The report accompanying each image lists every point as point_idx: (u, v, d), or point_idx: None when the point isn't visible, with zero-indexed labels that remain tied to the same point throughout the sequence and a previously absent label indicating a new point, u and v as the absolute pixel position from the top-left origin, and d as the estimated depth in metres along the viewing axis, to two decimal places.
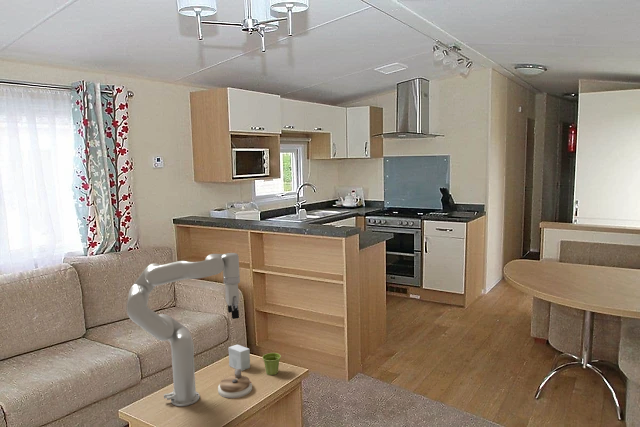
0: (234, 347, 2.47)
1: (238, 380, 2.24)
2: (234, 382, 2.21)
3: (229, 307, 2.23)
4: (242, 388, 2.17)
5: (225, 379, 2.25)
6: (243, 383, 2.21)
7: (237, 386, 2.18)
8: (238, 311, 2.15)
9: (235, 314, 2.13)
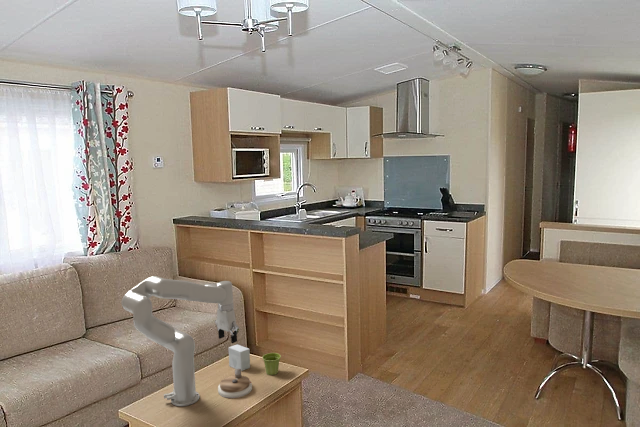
0: (234, 347, 2.47)
1: (238, 380, 2.24)
2: (234, 382, 2.21)
3: (220, 333, 2.32)
4: (242, 388, 2.17)
5: (225, 379, 2.25)
6: (243, 383, 2.21)
7: (237, 386, 2.18)
8: (236, 335, 2.28)
9: (235, 338, 2.26)
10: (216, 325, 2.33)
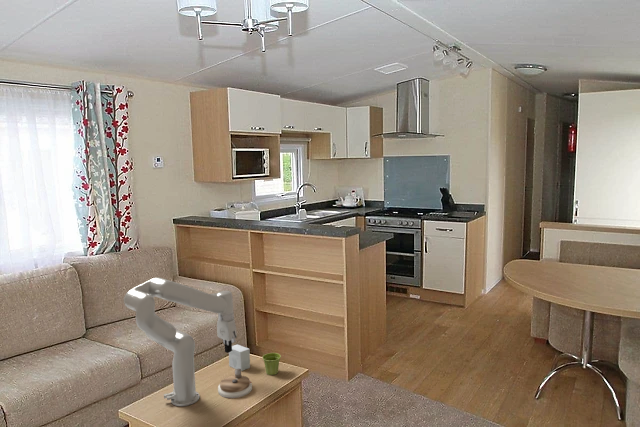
0: (234, 347, 2.47)
1: (238, 380, 2.24)
2: (234, 382, 2.21)
3: None
4: (242, 388, 2.17)
5: (225, 379, 2.25)
6: (243, 383, 2.21)
7: (237, 386, 2.18)
8: (231, 344, 2.32)
9: (230, 348, 2.30)
10: (222, 339, 2.32)
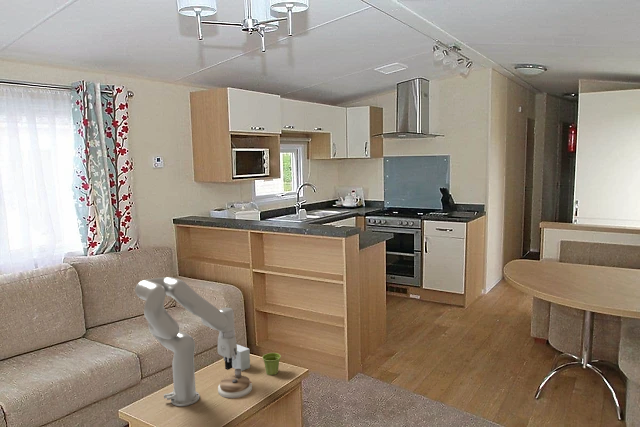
0: None
1: (238, 380, 2.24)
2: (234, 382, 2.21)
3: None
4: (242, 388, 2.17)
5: (225, 379, 2.25)
6: (243, 383, 2.21)
7: (237, 386, 2.18)
8: (231, 361, 2.32)
9: (230, 365, 2.31)
10: (223, 355, 2.32)
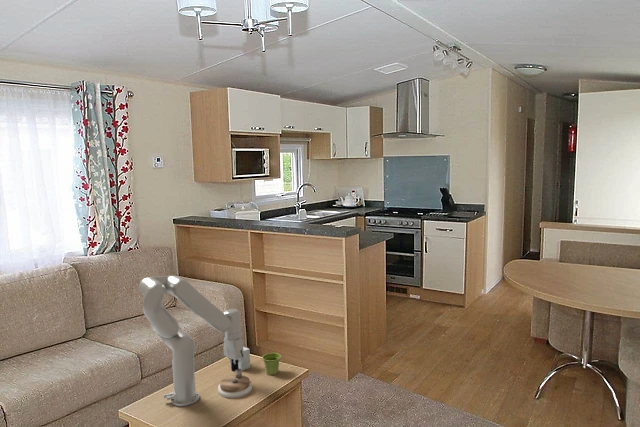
0: None
1: (238, 380, 2.24)
2: (234, 382, 2.21)
3: None
4: (241, 388, 2.17)
5: (225, 379, 2.26)
6: (243, 383, 2.21)
7: (236, 386, 2.18)
8: None
9: (236, 367, 2.28)
10: (229, 357, 2.30)
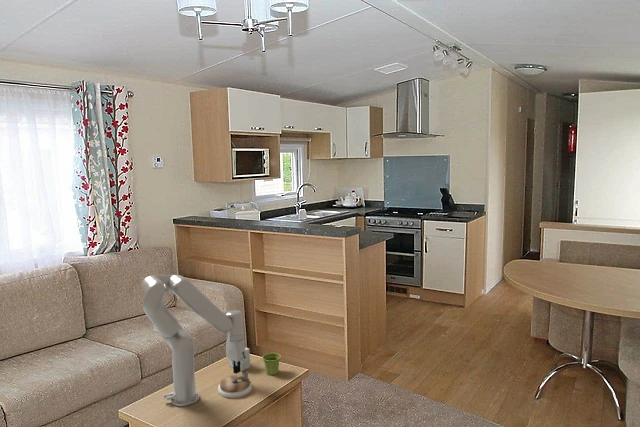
0: None
1: (238, 382, 2.22)
2: (232, 382, 2.22)
3: None
4: (227, 390, 2.16)
5: (236, 376, 2.28)
6: (234, 386, 2.18)
7: (226, 386, 2.19)
8: None
9: (238, 369, 2.27)
10: (231, 359, 2.28)
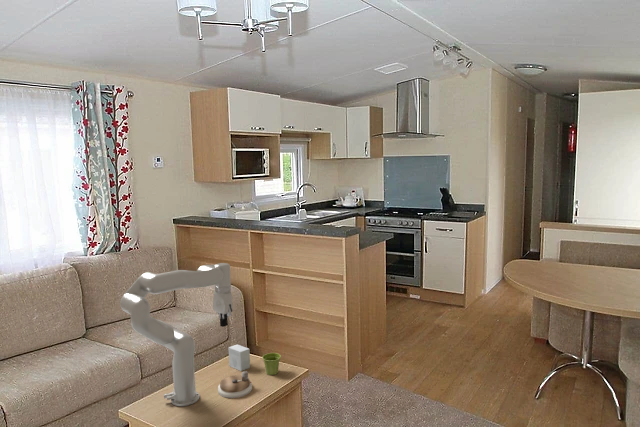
0: (234, 347, 2.47)
1: (238, 382, 2.22)
2: (232, 382, 2.22)
3: None
4: (227, 390, 2.16)
5: (236, 376, 2.28)
6: (234, 386, 2.18)
7: (226, 386, 2.19)
8: None
9: (225, 322, 2.26)
10: (218, 312, 2.27)
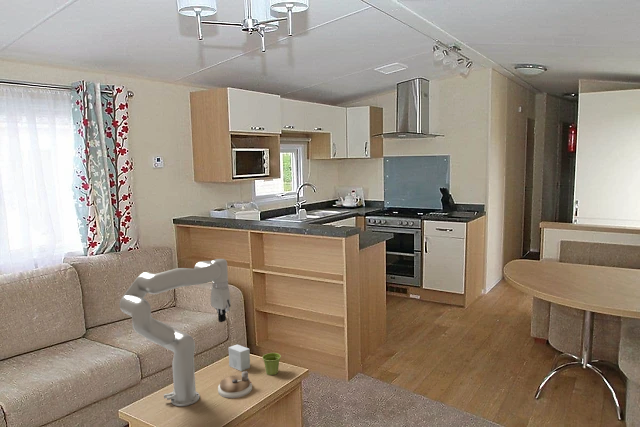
0: (234, 347, 2.47)
1: (238, 382, 2.22)
2: (232, 382, 2.22)
3: None
4: (227, 390, 2.16)
5: (236, 376, 2.28)
6: (234, 386, 2.18)
7: (226, 386, 2.19)
8: (225, 314, 2.28)
9: (223, 317, 2.26)
10: (216, 308, 2.28)
